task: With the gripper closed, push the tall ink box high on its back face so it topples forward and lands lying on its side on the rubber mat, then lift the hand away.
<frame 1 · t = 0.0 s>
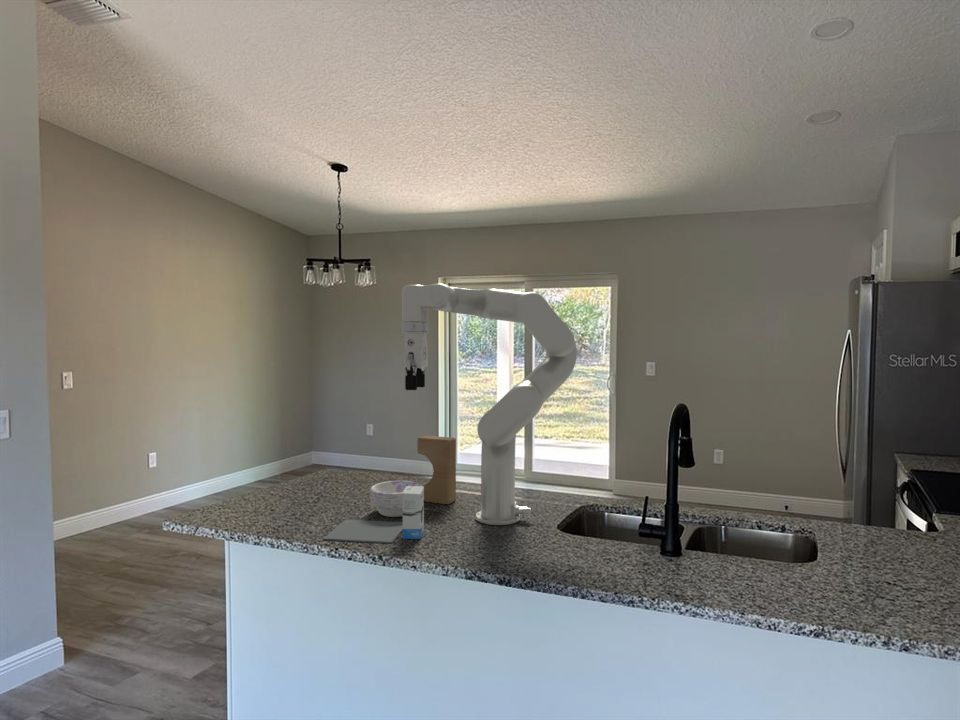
hand: (415, 388, 175), 37 cm above the counter, tool pointing down, fingers open, 9 cm apart
decorative block: (436, 501, 192), on the counter
mat: (367, 531, 162), on the counter
ink box: (413, 534, 160), on the counter
paper bowls: (396, 513, 179), on the counter
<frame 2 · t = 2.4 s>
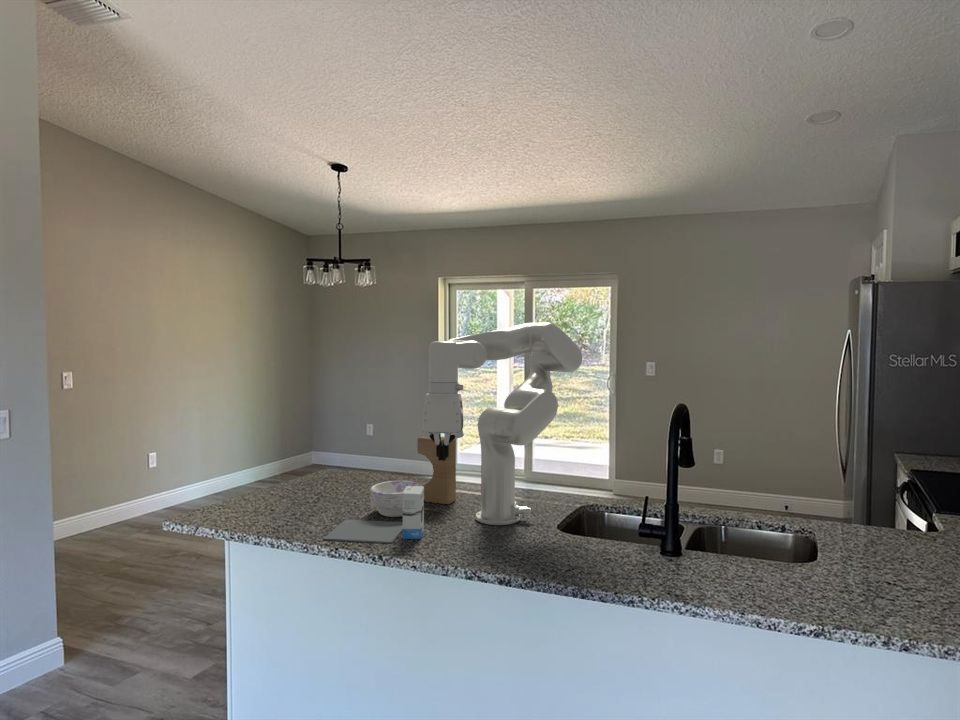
hand: (442, 459, 158), 20 cm above the counter, tool pointing down, fingers closed
nothing on the counter moved.
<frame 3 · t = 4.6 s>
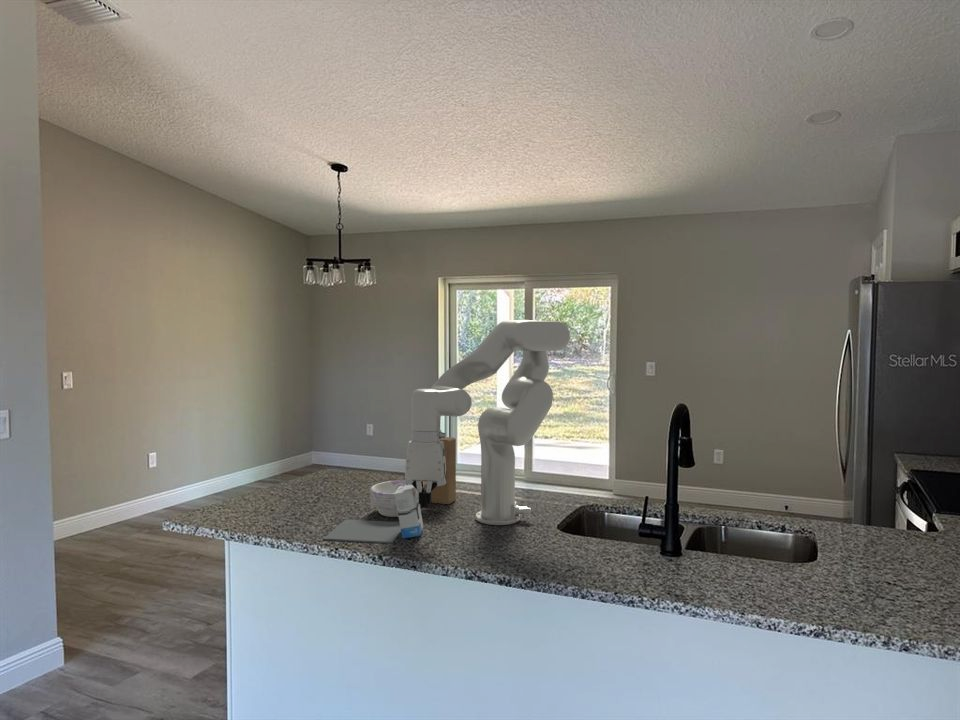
hand: (424, 506, 159), 7 cm above the counter, tool pointing down, fingers closed
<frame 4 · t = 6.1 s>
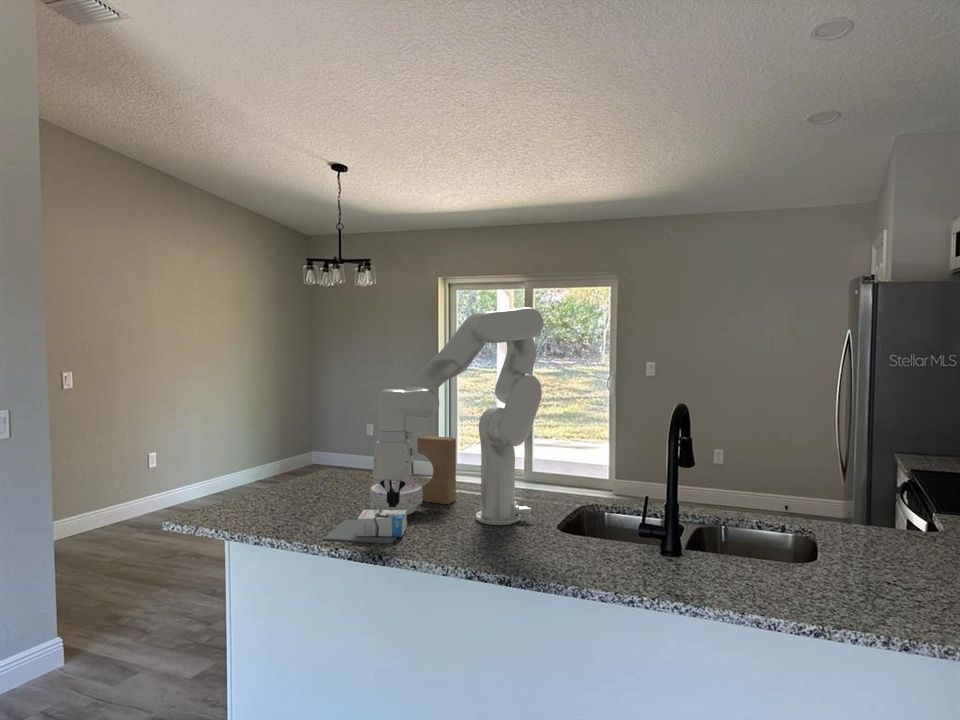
hand: (393, 505, 160), 7 cm above the counter, tool pointing down, fingers closed
ink box: (405, 522, 160), point 3 cm above the counter, touching mat
everything else where it was.
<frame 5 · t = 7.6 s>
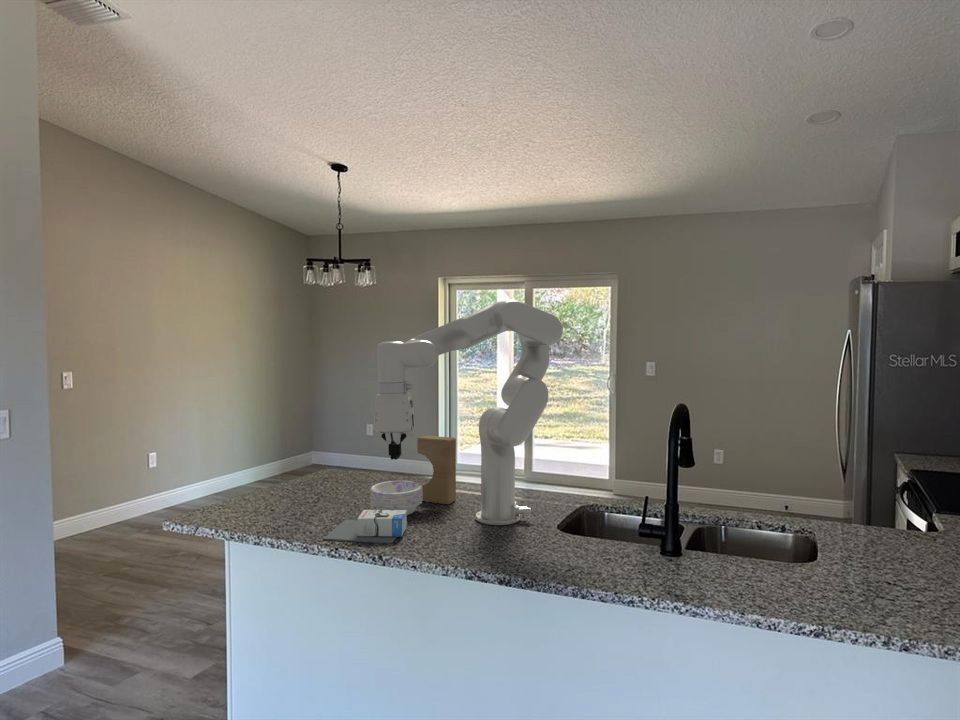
hand: (395, 458, 160), 20 cm above the counter, tool pointing down, fingers closed
nothing on the counter moved.
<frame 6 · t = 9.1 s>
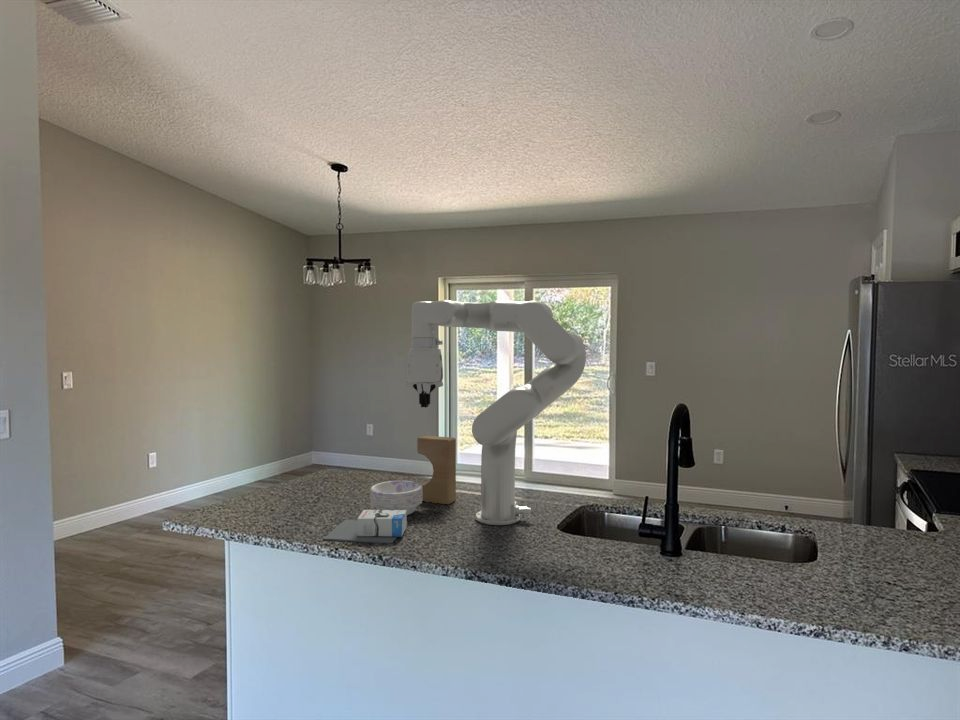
hand: (424, 406, 179), 31 cm above the counter, tool pointing down, fingers closed
nothing on the counter moved.
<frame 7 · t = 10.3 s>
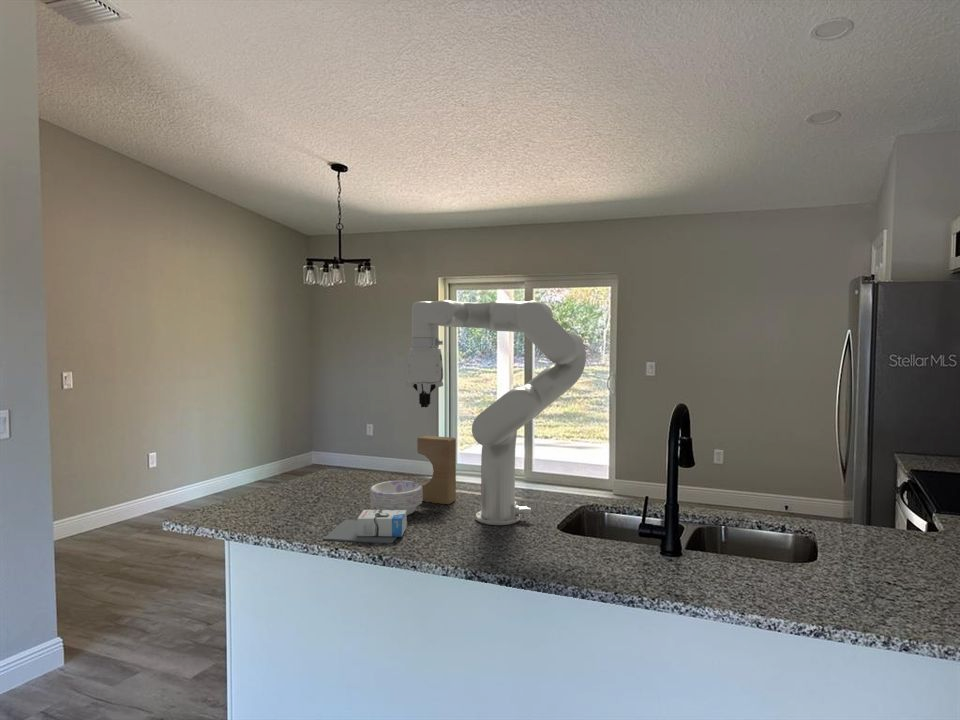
hand: (424, 406, 179), 31 cm above the counter, tool pointing down, fingers closed
nothing on the counter moved.
at the end: ink box tilted 90°; ink box touching mat; ink box inside the target area (5.4 cm from its centre), point 2.9 cm above the counter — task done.
